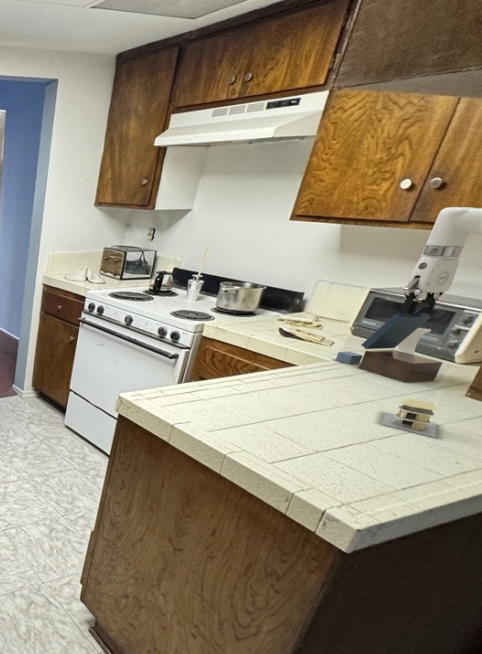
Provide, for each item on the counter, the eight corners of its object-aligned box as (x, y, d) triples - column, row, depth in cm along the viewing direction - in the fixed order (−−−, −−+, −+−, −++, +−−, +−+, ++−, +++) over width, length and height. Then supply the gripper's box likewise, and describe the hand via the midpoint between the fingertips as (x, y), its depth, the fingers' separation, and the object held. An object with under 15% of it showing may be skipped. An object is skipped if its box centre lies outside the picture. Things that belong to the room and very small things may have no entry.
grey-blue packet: (345, 359, 163) (359, 363, 159) (335, 360, 162) (348, 364, 158) (349, 351, 162) (363, 355, 158) (338, 351, 161) (352, 355, 157)
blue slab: (443, 306, 141) (435, 301, 143) (413, 307, 140) (405, 301, 141) (394, 348, 154) (387, 342, 156) (365, 349, 152) (359, 343, 154)
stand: (433, 380, 144) (442, 362, 142) (404, 382, 142) (412, 363, 140) (386, 366, 156) (393, 349, 154) (358, 368, 154) (365, 350, 152)
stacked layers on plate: (385, 413, 120) (394, 393, 118) (435, 425, 114) (446, 404, 112) (381, 424, 114) (391, 403, 112) (435, 437, 108) (446, 416, 106)
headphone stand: (397, 361, 162) (412, 327, 157) (391, 357, 167) (405, 324, 162) (415, 363, 160) (431, 329, 155) (408, 359, 165) (424, 326, 160)
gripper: (433, 253, 132) (406, 316, 139) (481, 253, 135) (452, 315, 142) (403, 251, 139) (378, 311, 146) (448, 251, 142) (422, 310, 148)
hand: (415, 312), depth 144 cm, fingers closed on blue slab, 5 cm apart
